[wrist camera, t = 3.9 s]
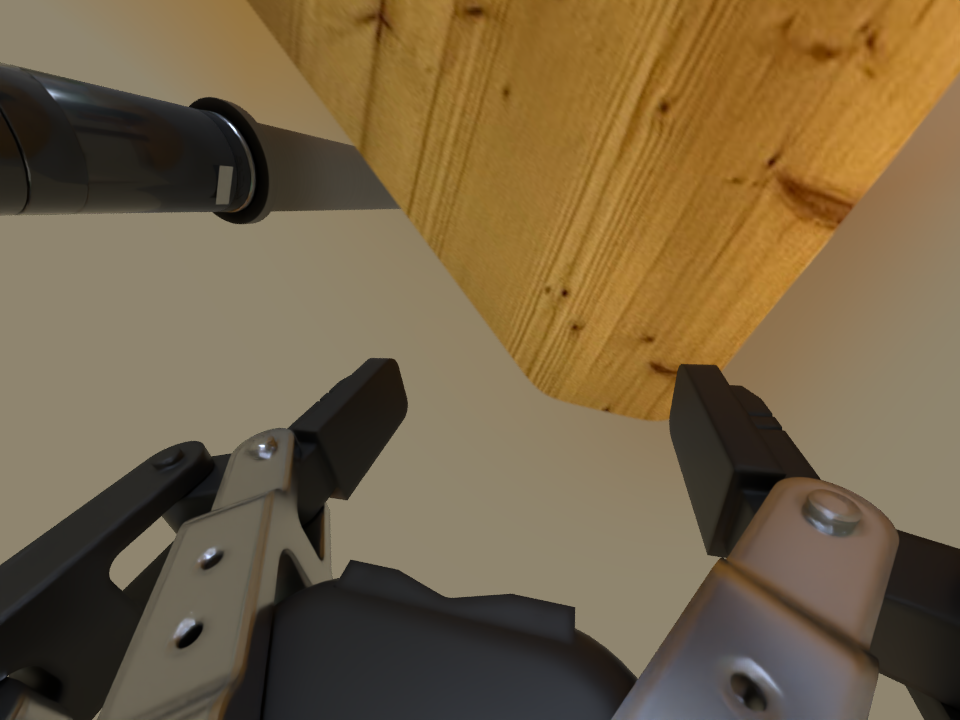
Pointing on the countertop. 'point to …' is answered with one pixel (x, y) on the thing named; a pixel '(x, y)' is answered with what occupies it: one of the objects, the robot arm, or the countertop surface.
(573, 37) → the countertop surface
